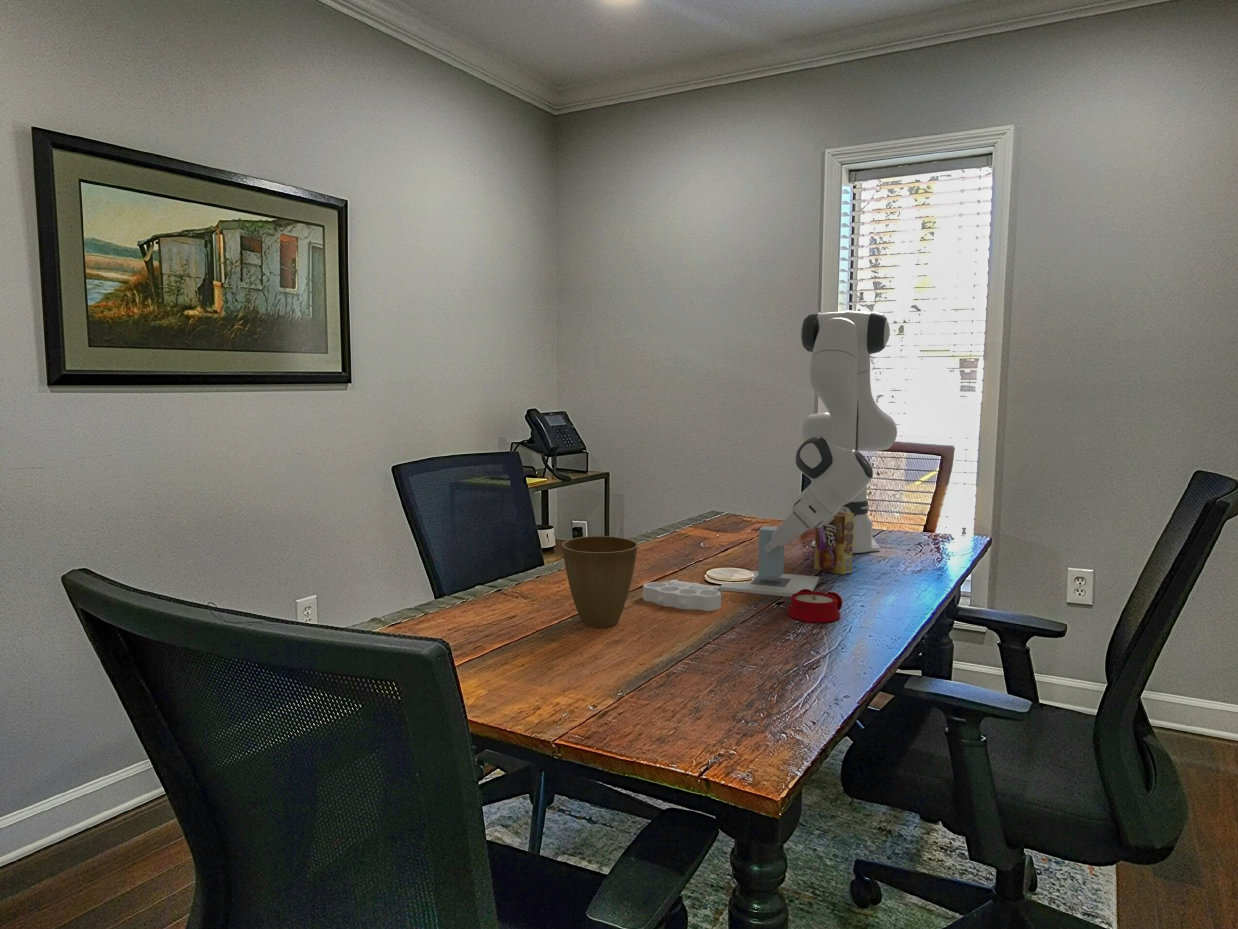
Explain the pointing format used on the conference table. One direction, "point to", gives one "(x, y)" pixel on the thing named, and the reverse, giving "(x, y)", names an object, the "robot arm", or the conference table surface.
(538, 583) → the conference table surface
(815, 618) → the alarm clock
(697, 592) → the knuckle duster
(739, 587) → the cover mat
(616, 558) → the plant pot
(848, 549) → the candy box
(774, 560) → the slate block
